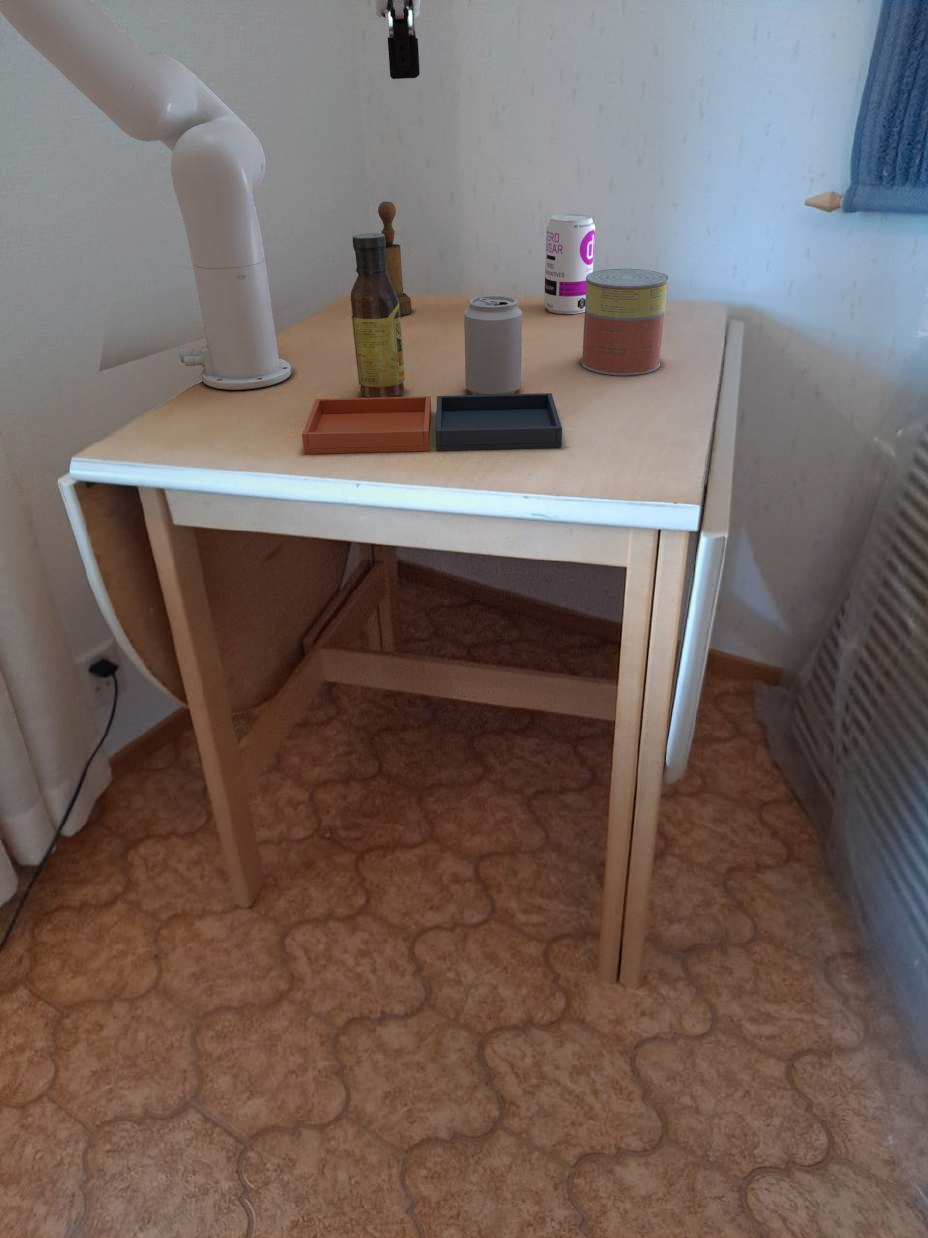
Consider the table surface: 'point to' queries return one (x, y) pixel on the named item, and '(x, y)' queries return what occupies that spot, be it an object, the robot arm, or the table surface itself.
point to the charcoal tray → (497, 422)
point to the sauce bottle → (376, 321)
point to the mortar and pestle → (393, 255)
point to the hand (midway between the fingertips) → (405, 77)
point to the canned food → (624, 321)
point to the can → (493, 345)
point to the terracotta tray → (368, 425)
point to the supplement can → (568, 262)
